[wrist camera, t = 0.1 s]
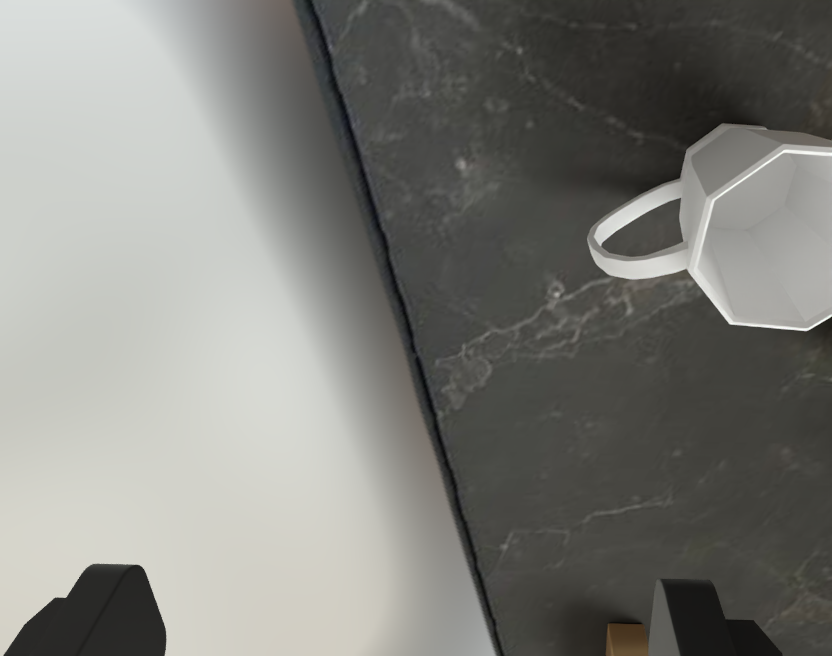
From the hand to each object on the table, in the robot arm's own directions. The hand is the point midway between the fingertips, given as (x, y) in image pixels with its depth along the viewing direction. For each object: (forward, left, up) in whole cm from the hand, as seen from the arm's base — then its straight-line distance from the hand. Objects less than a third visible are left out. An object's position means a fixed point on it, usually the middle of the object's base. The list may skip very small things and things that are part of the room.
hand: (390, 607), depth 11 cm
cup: (+1, +10, -24) cm, 26 cm away
